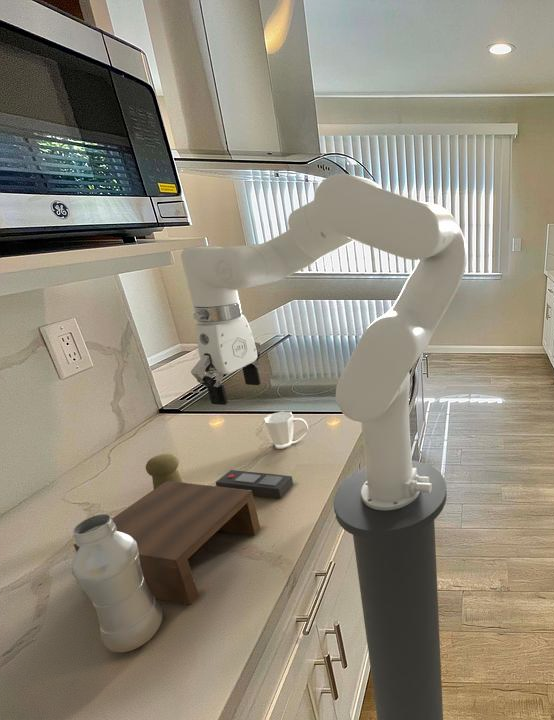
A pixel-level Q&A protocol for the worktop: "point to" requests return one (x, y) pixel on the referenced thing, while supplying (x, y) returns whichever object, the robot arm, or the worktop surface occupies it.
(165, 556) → the shelf
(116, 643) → the plastic bottle
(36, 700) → the worktop surface
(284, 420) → the cup
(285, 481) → the remote
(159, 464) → the cork
